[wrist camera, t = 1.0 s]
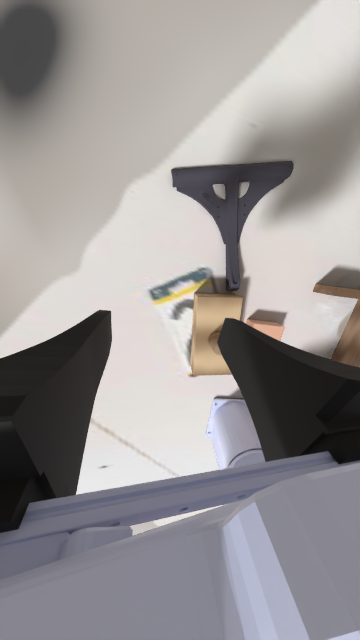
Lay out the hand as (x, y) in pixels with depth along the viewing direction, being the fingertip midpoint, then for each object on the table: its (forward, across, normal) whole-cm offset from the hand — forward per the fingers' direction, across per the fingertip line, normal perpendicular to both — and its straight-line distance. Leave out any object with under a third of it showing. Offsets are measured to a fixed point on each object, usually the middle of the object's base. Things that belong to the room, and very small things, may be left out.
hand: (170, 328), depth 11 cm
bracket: (+16, -9, -6) cm, 19 cm away
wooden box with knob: (+13, -9, +8) cm, 18 cm away
